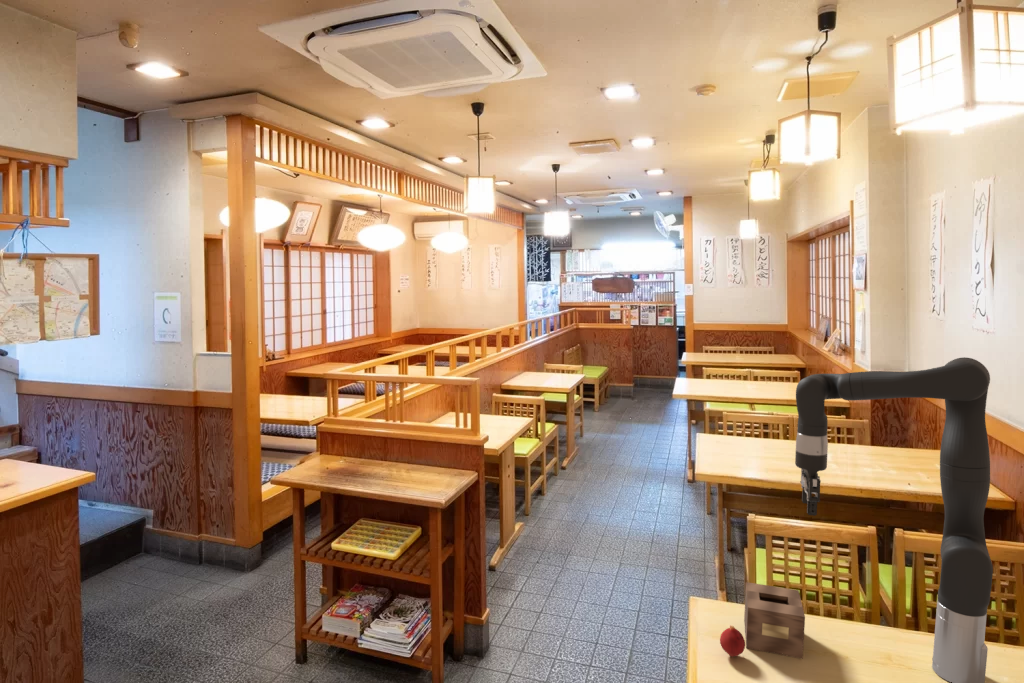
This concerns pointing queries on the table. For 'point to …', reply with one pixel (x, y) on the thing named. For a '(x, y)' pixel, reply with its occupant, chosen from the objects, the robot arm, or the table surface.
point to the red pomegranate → (732, 641)
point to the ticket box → (774, 620)
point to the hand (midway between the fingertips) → (809, 508)
